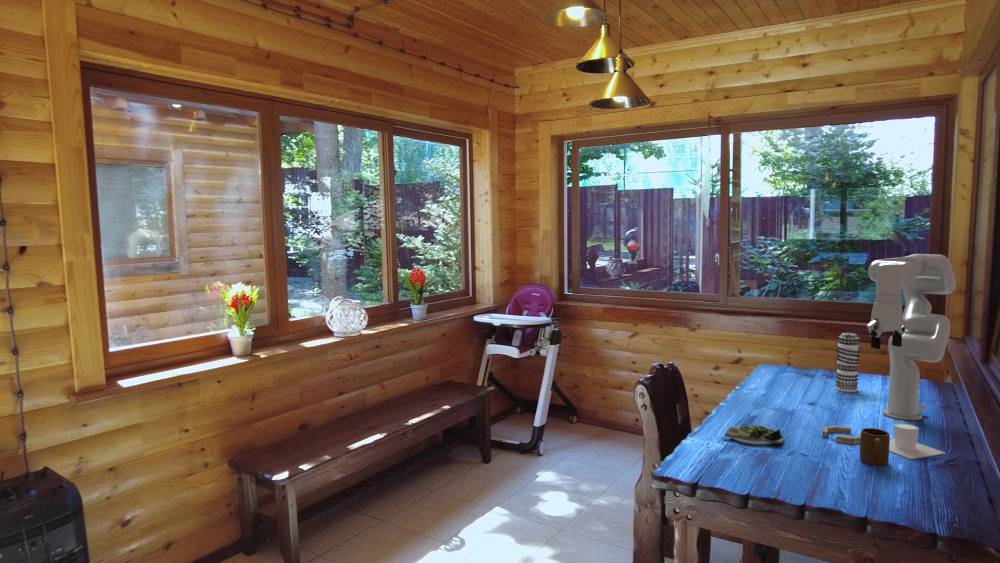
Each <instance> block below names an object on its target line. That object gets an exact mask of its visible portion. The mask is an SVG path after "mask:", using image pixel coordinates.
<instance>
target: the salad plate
mask: <svg viewBox="0 0 1000 563" xmlns="http://www.w3.org/2000/svg"><path fill="white" fill-rule="evenodd" d="M726 432H727V433H724V437H727V438H729V439H732V440H734V441H736V442H739V443H741V444H742V443H743V444H746V445H750V446H779V445H781V444H785V437H783V436H782V435H781V430H780V428H777V429H775V430H774V429H772V428H770V427H767V426H763V425H749V426H748V425H747V426H742V425H741V426H730V427H729V428H727V429H726Z"/></svg>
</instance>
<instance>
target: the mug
mask: <svg viewBox="0 0 1000 563" xmlns="http://www.w3.org/2000/svg"><path fill="white" fill-rule="evenodd" d="M860 432H861V439H860V443H859V445H860V446H859V459H860V461H862V462H863V463H864V464H868V465H871V466H872V465H873V466H878V467H881V466H886V465H888V464H889V459H890V458H889V457H890V452H889V443H890V433H889V432H888V431H886V430H882V429H878V428H873V427H871V428H870V427H867V428H862V429H861V431H860Z"/></svg>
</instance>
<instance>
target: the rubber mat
mask: <svg viewBox="0 0 1000 563" xmlns="http://www.w3.org/2000/svg"><path fill="white" fill-rule="evenodd" d="M889 453H892V454H895V455H897V456H899V457H902V458H905V459H908V460H917V459H923V458H929V457H935V456H936V455H937V456H942V455H941V454H943V455H947V453H946V452H944V451H943V450H939V449H936V448H932V447H931V446H927V445H924V444H921V443H919V442H917V444H916V449H915V450H904V449H900V448H897V447H896V446H895V438H891V439H890V443H889Z"/></svg>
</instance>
